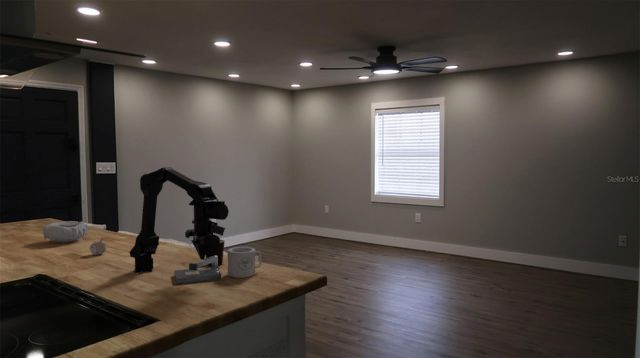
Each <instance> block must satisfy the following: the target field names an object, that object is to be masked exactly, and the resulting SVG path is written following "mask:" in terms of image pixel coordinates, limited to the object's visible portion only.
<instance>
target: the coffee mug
mask: <svg viewBox="0 0 640 358" xmlns="http://www.w3.org/2000/svg"><path fill="white" fill-rule="evenodd" d="M225 242H226V241H225V240H224V239H221V238H220V243H219V244H212V245H209V246H208V248H207V251H206V255H205V259H206V258H209V257H211V256H214V255H217V256H218V267H220V266H222V265H223V260H224V250H225ZM207 265H208V266H207ZM207 265H206V266H207V267H212V263H209V264H207Z"/></svg>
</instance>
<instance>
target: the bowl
mask: <svg viewBox="0 0 640 358" xmlns="http://www.w3.org/2000/svg"><path fill="white" fill-rule="evenodd" d="M42 232H43V239H44V241H45V240H47V239H48V240H50V241H53V242H56V243H69V242H70V243H71V242H73V241H77V240H79V239H81V238H83V237H86V236H87V235H88V224H86V223H85V222H84V221H79V222H78V221H72V220H69V221H68V220H66V221H60V222H55V221H54V222H51V223H49V224H47V225H44V226H43V231H42Z"/></svg>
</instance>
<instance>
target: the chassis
mask: <svg viewBox="0 0 640 358" xmlns="http://www.w3.org/2000/svg"><path fill="white" fill-rule="evenodd" d="M173 273H174V274H173V275H174V280H175V283H176V285H183V284H194V283H201V282H202V283H203V282H210V281H211V282H212V281H219V280H220V281H221V280H222V273H221V271H220V270H218V269H217V267H216V266H215V267H212V266H205V267H204V266H203V267H199V268H197V270H189V268H186V269H177V270H174V271H173Z"/></svg>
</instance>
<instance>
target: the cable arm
mask: <svg viewBox="0 0 640 358" xmlns="http://www.w3.org/2000/svg"><path fill="white" fill-rule="evenodd" d="M209 263H212V266H211V267H215V266H216V267H217V268H218V267H219V266H218V256H217V255H214V256H211V257H209V258H206V257H205V258H204V260H201V259H200V260H199V261H198V260H197V261H196V262H189V263H188V269H189V270H197V268H203V267H204V266H207V264H209Z"/></svg>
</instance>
